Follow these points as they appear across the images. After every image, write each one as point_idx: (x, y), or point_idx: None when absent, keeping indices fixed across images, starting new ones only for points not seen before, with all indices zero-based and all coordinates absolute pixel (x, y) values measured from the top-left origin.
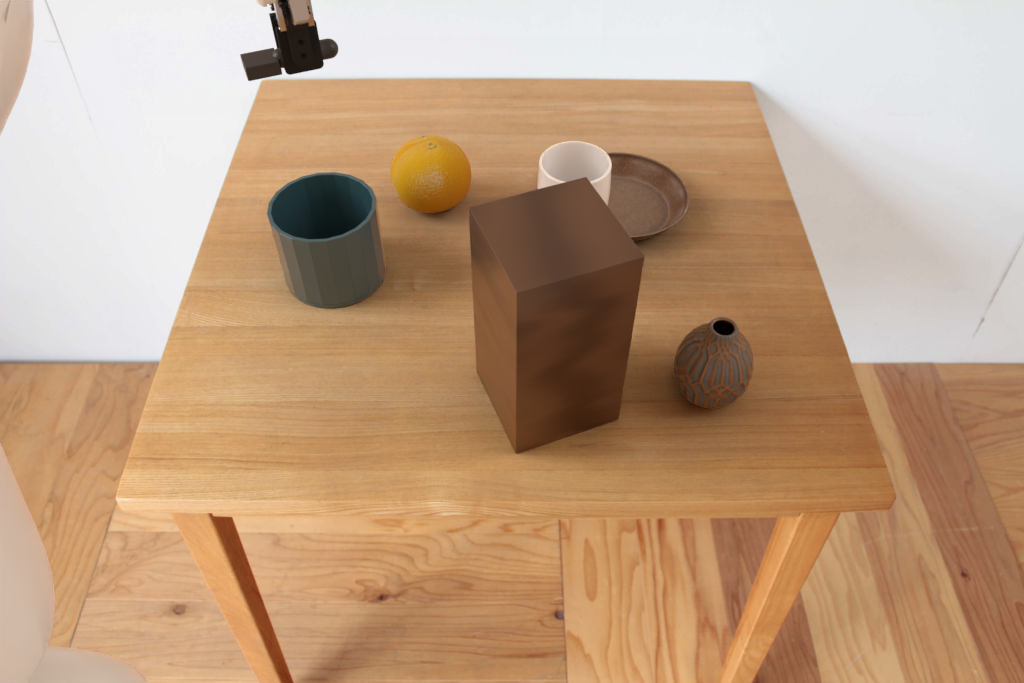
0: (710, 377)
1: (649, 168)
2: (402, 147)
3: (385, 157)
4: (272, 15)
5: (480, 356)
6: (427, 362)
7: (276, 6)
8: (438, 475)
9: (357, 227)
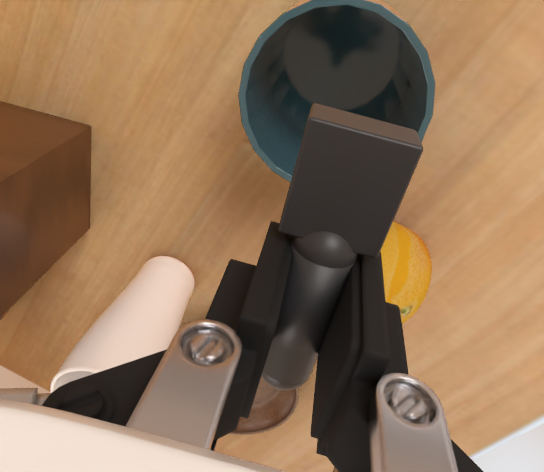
0: None
1: (252, 423)
2: (408, 278)
3: (504, 253)
4: (363, 360)
5: (49, 136)
6: (127, 86)
7: (127, 423)
8: None
9: (246, 125)
